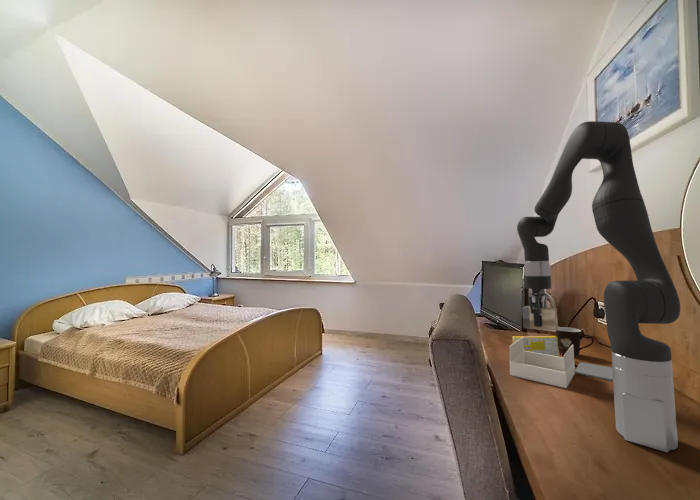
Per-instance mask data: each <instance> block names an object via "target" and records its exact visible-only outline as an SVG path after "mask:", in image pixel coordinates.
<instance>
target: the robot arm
mask: <svg viewBox="0 0 700 500" xmlns="http://www.w3.org/2000/svg"><path fill="white" fill-rule="evenodd" d="M630 140H631V138H630V134H629V132H628V129H627V127H626V126H625V125H624V124H623V123H620V122H616V121H597V120H595V121H591V120H590V121H584V122H582V123H580V124H579V125H577V126H576V127H575V128H574V129H573V131H572V132H571V134H570V135H569V138H568V140H567V141H566V144H565V145H564V148H563V150H562V153H561V155H560V157H559V160H558V161H557V162H558V163H557V164H556V167H555V169H554V172H553V174H552V176H551V178H550V180H549V181H550V182H549V183H548V185H547V186H546V188H545V190H544V191H543V193H542V194H541V196H540V198H539V199H538V201H537V202H536V204H535V206H534V212H535V214H536V215H537V216H524V217H521V218H520V219H519V221H518V222H517V225H516V231H517V234H518V237H519V239H520V243H521V245H522V248H523V253H524V254H523V255H524V257H523V258H524V267H523V268H524V269H523V271H524V287H525V288H526V289H530V290H532V291H531V293H530V295H529V297H528V301H529V306H530V308H531V313H532V314H533V315H534V326H536V327H542V309H543V308H544V307H547V308H548V294H547V293H546V292H545V290H551V289H552V275H551V273H552V272H551V265H550V254H549V247H548V245H547V244H545V243H541V242H538V241H537V239H536V238H544V237H545V238H546V237H547V236H548V235H550V234H551V233H553V231H554V229H555V226H556V222H557V220H558V218H559V217H558V216H559V215H560V213H561V211H562V210H563V209H564V207H565V206H566V205H567V203H568V202H569V200H570V198H571V197H572V193H573V173H574V171H575V169H576V167H577V166H578V164H579V163H580V162H581V161H582V160H598V161H599V163H600V165H601V169H602V175H603V177H602V181H601V184H600V186H599V188H598V189H597V192H596V193H595V196H594V197H593V200H592V202H591V203H592V204H591V211H592V214H593V215H592V216H593V218H594V222H595V228H596V230H597V232H598V233H599V234H600V236H601V237H602V238H603V239H604V240H605V241H606V242H608V244H609V245H610V246H612V248H613V249H615V250H617V251H618V252H619V253H620V254H621V255H622V256H623V257H624V258H625V259H626V260H627V263H628V264H629V265H630V266H631V268H632V270H633V272H634V275H635V277H636V279H637V280H630V279H629V280H612V281H610V282H608V283H606V284H607V285H605V288H604V290H603V307H604V314H605V321H606V322H605V323H606V330H607V337H608V341H609V344H610V351H611V368H612V372H613V381H612V386H613V397H614V398H613V401H614V413H615V415H614V416H615V430H616V431H617V432H618V433H619V434H620V435H621V436H622V437H623V438H624V440H625V441H628V442H631V443H634V444H638V445H641V446H645V447H648V448H651V449H654V450H658V451H660V452H665V453H669V451H672V450H676V449H678V446H679V444H678V442H679V441H678V429H677V428H678V427H677V418H676V402H675V390H674V389H675V387H674V371H673V362H672V359H673V358H672V350H671V348H670V346H669V344H667V343H664V342H662V341H660V340H657V339H653V338H650V337H648V336H646V335H644V334H642V333H641V330H640V326H639V324H649V325H651V324H652V325H653V324H655V325H656V324H657V325H658V324H660V325H661V324H662V325H665V324H666V325H667V324H672V323H674V322H676V321H677V320H678V319H679V318H680V313H681V301H680V297H679V294H678V291H677V288H676V286H675V284H674V281H673V280H672V277H671V276H670V273H669V270H668V269H667V266H666V264H665V261H664V260H663V258H662V255H661V253H660V251H659V247H658V245H657V242H656V238H655V235H654V232H653V230H652V226H651V222H650V219H649V214H648V210H647V207H646V204H645V200H644V198H643V195H642V193H641V190H640V185H639V181H638V178H637V175H636V171H635V167H634V162H633V154H632V147H631V141H630ZM535 308H537V310H535Z"/></svg>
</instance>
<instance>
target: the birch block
mask: <svg viewBox="0 0 700 500" xmlns="http://www.w3.org/2000/svg"><path fill="white" fill-rule="evenodd" d="M521 309H522V310H521V311H522V327H523V329H527V330H528V329H530V330H539V331H545V332H546V331H547V332H554V333H555V331H557V330H558V327H559V326H558V325H559V324H558V309H557V308H556V307H548V306H547V307H544V308H543V309H542V327H536V326H534V315H533V314H532V313H531V308H530V305H525V306H523V307H521ZM535 310H537V308H535Z"/></svg>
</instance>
